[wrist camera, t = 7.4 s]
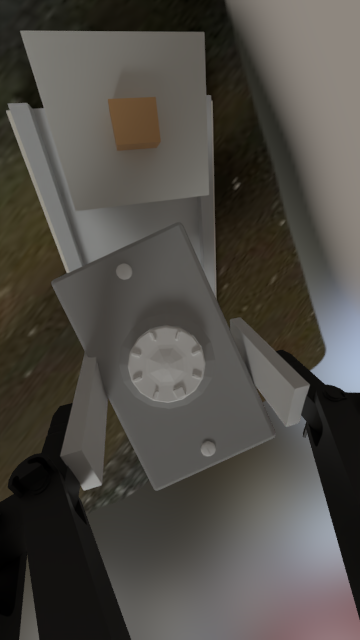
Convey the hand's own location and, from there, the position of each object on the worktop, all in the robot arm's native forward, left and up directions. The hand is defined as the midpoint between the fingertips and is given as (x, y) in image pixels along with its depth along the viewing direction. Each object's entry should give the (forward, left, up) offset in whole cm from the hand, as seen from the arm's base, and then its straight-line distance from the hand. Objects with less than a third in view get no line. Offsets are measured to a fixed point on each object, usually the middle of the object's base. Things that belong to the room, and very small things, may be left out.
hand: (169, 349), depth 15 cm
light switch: (0, 0, -3) cm, 3 cm away
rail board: (0, +4, -8) cm, 9 cm away
